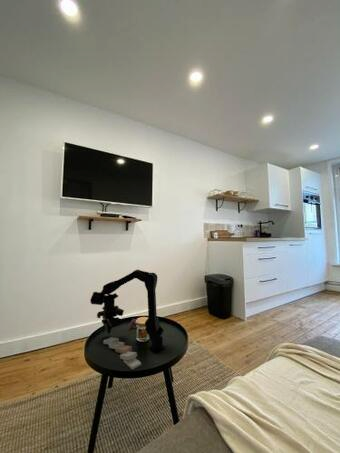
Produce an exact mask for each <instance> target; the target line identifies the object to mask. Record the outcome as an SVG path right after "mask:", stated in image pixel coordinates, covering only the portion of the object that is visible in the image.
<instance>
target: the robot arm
mask: <svg viewBox="0 0 340 453" xmlns="http://www.w3.org/2000/svg"><path fill="white" fill-rule="evenodd" d="M134 279H137V280H139V281H141V282H143V283H144V286H145V289H146V293H147V294H146V295H147V312H148V313H147V314H148V317H147V318H146V320H145V321H144V322H145V325H144V327H145V329H144V331H145V332H146V334H147V335H148V337H149V340H150V346H148V347H147V348H148V350H150V351H152V353H155V354H157V353H159V352H161V351H163V350H165V347H164V346H163V343H164V342H163V341H164V338H163V336H162V335H163V334H164V329H163V328H162V327H161V325H160V320H159V318H158V315H157V299H156V298H157V296H156V294H157V292H156V288H157V284H158V275H157V273H155V272H149V271H146V270H145V271H144V270H140V269H135V270H133V271H132V272H130V273H129V274H126V275H125V276H123V277H121V278H119V279H117V280H113V281H110V282H108V283H106V284H104V285H103V287H102V289H101V291H100V292H98V291H93V292H92V295H91V297H90V304H91V305H97V306H102V305H103V306H102V310H101V311H98V312H97V314H96V318H98V319H101V317H102V320H101V323H102V325H103V327H104V329H105V331H106V333H107V334H108V335H109V334H110V333H111V331H112V329H113V328H114V327H117V326H121V325H122V324H123V319H121V318H120V317H123V315H124V312H125V310H124V309H122V308H119V305H115V303H116V302H115V301H116V299H117V298H119V295H118V294H117V293H116V292H115V291H117V290H118V289H119V288H121V286H123V285H125V284H127V283H129V282H130V281H133V280H134ZM114 292H115V293H114ZM118 316H120V317H118Z"/></svg>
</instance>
